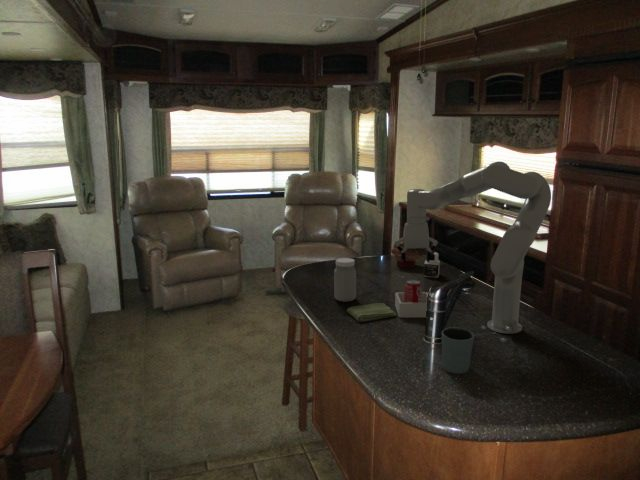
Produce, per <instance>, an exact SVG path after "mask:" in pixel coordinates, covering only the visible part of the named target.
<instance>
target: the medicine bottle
mask: <svg viewBox="0 0 640 480" xmlns="http://www.w3.org/2000/svg"><path fill="white" fill-rule="evenodd" d="M439 256H440V255H439V253H438V252H436V251H432V252H431V259H429V262H427V260H426V259H425V261H424V264H423V265H424V266H423V277H424V278H426V277H427V278H435V279H437V278H439V276H440V265H441V261H440V260H439Z"/></svg>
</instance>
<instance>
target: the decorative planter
mask: <svg viewBox="0 0 640 480" xmlns="http://www.w3.org/2000/svg"><path fill="white" fill-rule="evenodd" d="M399 246H400V247H401V248H402V247H403V246H404V245H403V242H401V243H399ZM426 251H427V249H426V248H423V252H422V253H420V248H407V250H406V251H405V263H404V262H403V260H401V251H400V250H398V248H397V247H396V245H395V243H393V246H392V248H391V249H390V252H391V254H392V255H394V256H395V259H396V265H397V266H398V267H400V268H406V269H407V268H408V269H409V268H414V267H416V261H417V260H418V259H419V258H421V257H423V255H425V253H426Z"/></svg>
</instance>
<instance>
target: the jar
mask: <svg viewBox="0 0 640 480" xmlns="http://www.w3.org/2000/svg"><path fill="white" fill-rule="evenodd" d="M355 263H356V260H355V259H354V258H351V257H339V258H337V259H335V268H334V270H333V283H334V286H333V287H334V288H333V289H334V290H333V291H334V293H333V297H334V298H335V300H336V301H338V302H341V301H342V302H343V303H347V302H348V303H349V301H350V302H353V301H354V300H355V299H356V297H357V270H356V267H355ZM342 302H341V303H342Z"/></svg>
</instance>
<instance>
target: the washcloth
mask: <svg viewBox="0 0 640 480" xmlns="http://www.w3.org/2000/svg"><path fill="white" fill-rule="evenodd" d="M346 312H347V313H348V314H349V315H350V316H351V317H353V318H354V319H355V321H357V323H358V322H359V323H363V322H370V321H376V320H381V319H387V318H393V317H396V316H397V313H396V312H395V311H393V310H392V309H391V307H390V306H387V305H386V303H384V302H379V303H378V302H377V303H376V302H375V303H369V304H364V305H354V306H350V307H348V308H347V309H346Z"/></svg>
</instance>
